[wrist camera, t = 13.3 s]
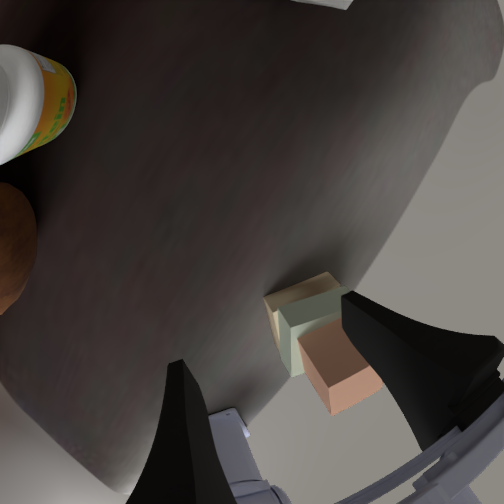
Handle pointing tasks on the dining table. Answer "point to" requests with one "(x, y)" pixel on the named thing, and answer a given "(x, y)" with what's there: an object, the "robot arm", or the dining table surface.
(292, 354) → the tower top block
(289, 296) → the tower base block
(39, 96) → the supplement bottle
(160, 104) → the dining table surface
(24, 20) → the dining table surface
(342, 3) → the die
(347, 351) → the terracotta block
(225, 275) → the dining table surface
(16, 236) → the wooden figurine
